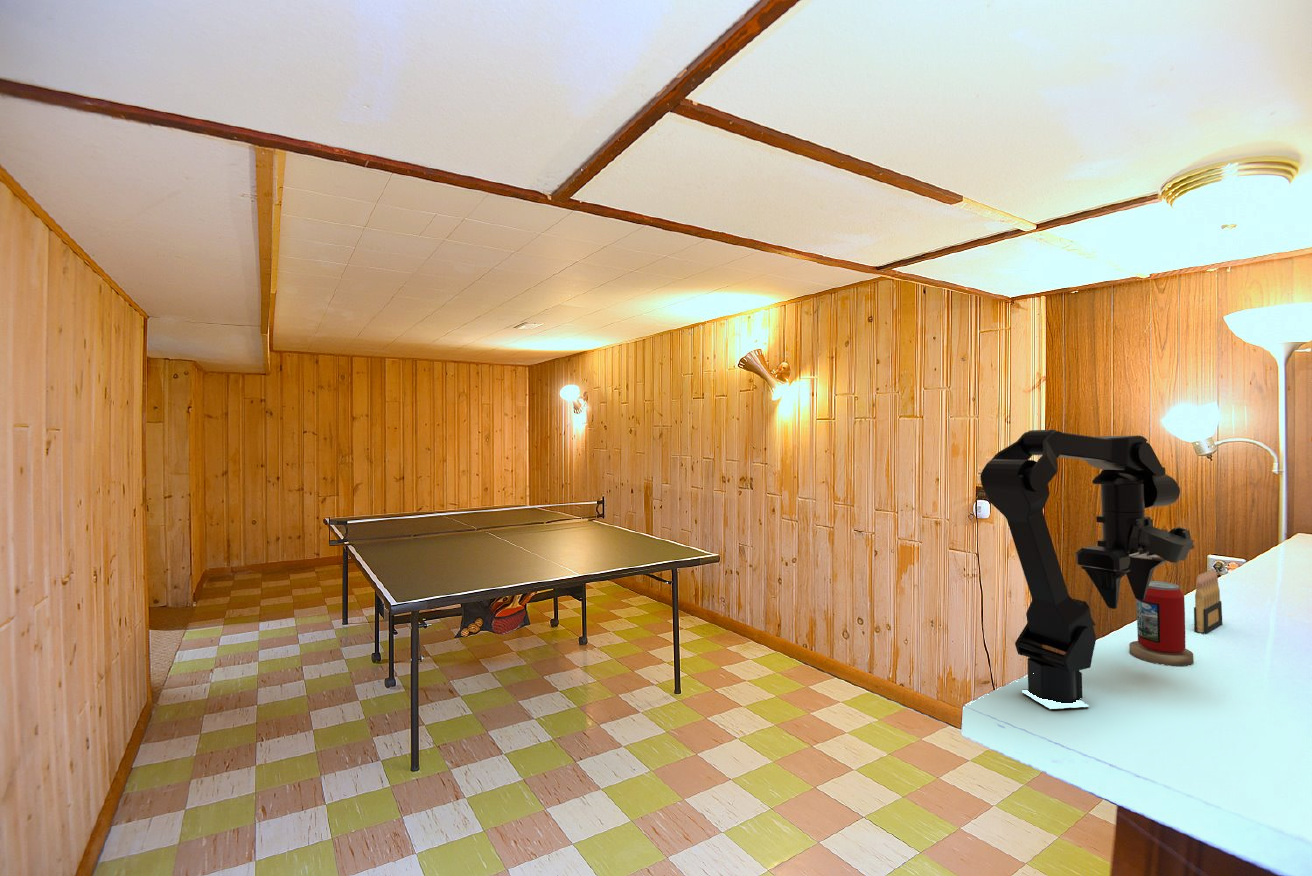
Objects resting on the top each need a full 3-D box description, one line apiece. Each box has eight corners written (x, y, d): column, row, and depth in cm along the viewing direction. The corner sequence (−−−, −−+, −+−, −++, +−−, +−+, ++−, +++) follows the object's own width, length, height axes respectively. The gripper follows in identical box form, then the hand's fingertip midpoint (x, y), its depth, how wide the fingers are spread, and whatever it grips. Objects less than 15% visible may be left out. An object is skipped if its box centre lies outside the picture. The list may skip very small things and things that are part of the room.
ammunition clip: (1206, 634, 121) (1204, 575, 121) (1194, 632, 122) (1192, 574, 123) (1222, 624, 127) (1220, 568, 127) (1211, 622, 128) (1209, 567, 128)
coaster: (1185, 670, 103) (1184, 661, 103) (1122, 655, 111) (1121, 647, 111) (1200, 658, 108) (1199, 650, 108) (1138, 645, 116) (1138, 637, 116)
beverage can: (1132, 641, 114) (1131, 578, 114) (1177, 645, 111) (1175, 581, 111) (1144, 653, 107) (1143, 587, 107) (1192, 658, 105) (1190, 590, 105)
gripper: (1154, 520, 88) (1159, 626, 88) (1209, 509, 97) (1213, 605, 96) (1072, 513, 97) (1076, 609, 97) (1128, 504, 106) (1132, 591, 106)
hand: (1126, 603), depth 99 cm, fingers open, 9 cm apart
